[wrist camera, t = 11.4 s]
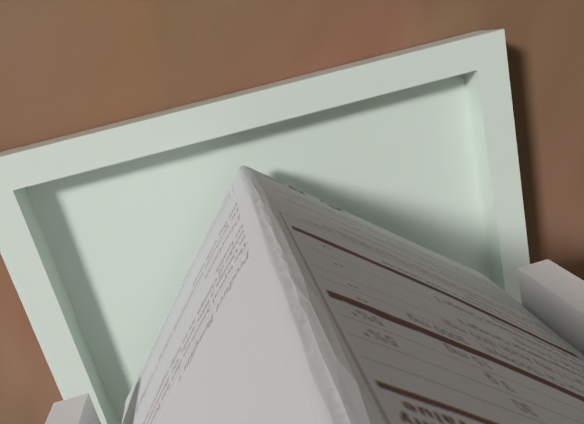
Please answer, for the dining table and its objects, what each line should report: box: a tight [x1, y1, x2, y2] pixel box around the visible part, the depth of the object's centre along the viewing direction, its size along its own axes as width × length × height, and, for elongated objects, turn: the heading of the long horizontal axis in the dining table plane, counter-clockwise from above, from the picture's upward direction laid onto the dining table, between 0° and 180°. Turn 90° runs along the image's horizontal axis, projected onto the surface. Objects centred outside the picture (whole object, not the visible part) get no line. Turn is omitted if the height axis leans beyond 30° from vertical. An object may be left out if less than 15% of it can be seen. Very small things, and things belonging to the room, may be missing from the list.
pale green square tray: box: [0, 29, 530, 424], centre depth 16 cm, size 13×13×1 cm
